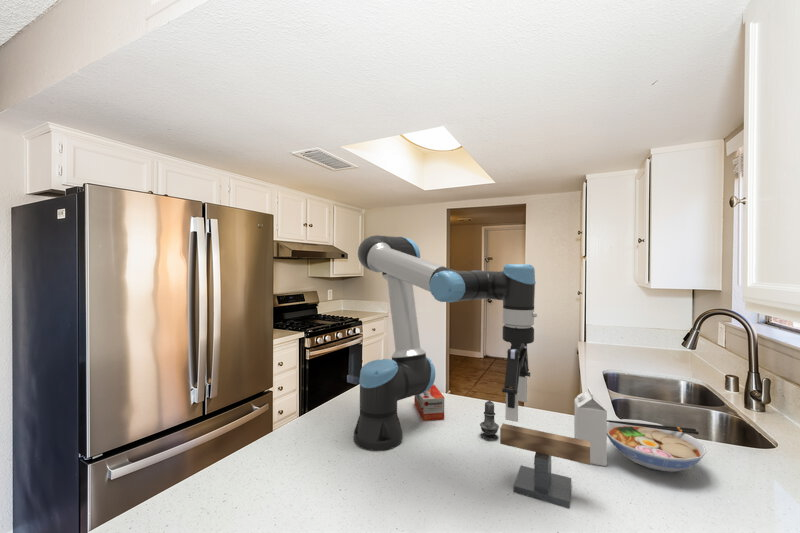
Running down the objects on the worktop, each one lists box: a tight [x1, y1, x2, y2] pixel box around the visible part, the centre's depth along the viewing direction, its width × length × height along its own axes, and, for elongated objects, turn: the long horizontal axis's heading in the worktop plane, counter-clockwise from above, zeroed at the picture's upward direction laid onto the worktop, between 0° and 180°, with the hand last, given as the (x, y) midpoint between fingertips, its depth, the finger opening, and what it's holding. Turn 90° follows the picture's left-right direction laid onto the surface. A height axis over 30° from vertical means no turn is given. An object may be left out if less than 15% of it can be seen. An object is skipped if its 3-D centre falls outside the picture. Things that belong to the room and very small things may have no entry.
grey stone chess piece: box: [479, 398, 500, 442], centre depth 113 cm, size 6×6×12 cm
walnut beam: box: [499, 423, 591, 466], centre depth 87 cm, size 20×3×4 cm, turn 62°
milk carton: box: [573, 386, 608, 467], centre depth 101 cm, size 7×7×19 cm
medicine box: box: [413, 384, 445, 422], centre depth 132 cm, size 15×8×8 cm, turn 9°
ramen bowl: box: [607, 418, 707, 472], centre depth 98 cm, size 25×23×8 cm
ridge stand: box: [513, 452, 572, 509], centre depth 87 cm, size 12×10×9 cm
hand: (516, 410), depth 90 cm, fingers open, 13 cm apart
